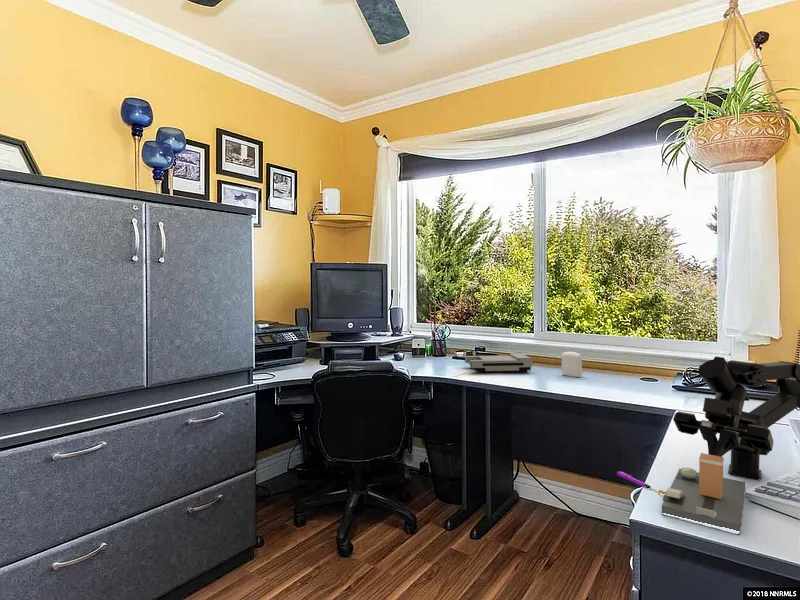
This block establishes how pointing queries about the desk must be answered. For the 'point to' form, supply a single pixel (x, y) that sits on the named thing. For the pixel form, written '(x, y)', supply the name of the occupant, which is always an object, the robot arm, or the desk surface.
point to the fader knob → (711, 475)
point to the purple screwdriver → (636, 481)
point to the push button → (688, 473)
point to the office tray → (500, 363)
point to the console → (707, 502)
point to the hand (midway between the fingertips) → (711, 461)
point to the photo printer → (572, 364)
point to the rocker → (673, 493)
